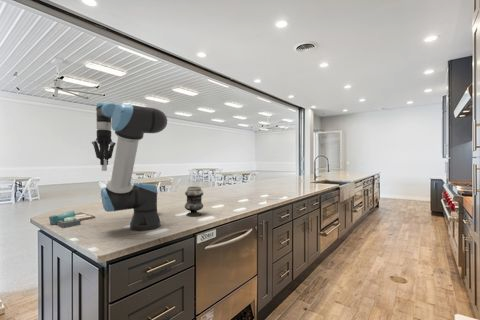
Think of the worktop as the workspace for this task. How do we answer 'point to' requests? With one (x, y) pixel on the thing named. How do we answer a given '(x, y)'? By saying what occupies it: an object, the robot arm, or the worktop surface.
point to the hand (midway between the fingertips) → (104, 170)
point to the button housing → (68, 223)
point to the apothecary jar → (194, 201)
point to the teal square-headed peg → (61, 217)
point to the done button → (68, 219)
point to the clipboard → (83, 216)
